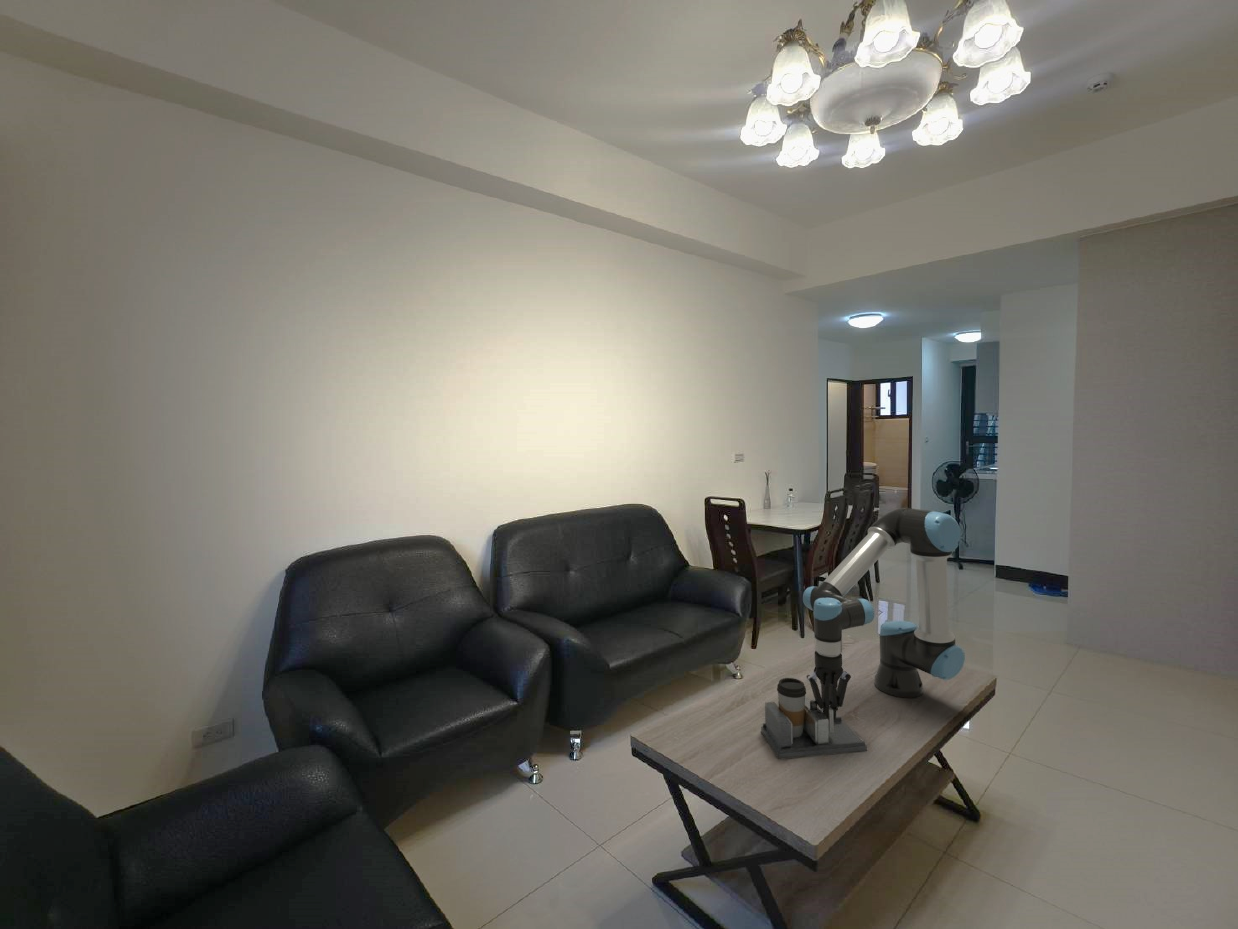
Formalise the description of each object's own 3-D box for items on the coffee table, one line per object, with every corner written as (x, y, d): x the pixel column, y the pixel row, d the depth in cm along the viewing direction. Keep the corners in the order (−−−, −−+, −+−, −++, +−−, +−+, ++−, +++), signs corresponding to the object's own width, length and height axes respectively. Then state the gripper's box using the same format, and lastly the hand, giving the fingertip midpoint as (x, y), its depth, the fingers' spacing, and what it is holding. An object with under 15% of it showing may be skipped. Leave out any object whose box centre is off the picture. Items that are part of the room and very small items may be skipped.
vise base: (841, 724, 167) (841, 694, 167) (866, 750, 153) (866, 718, 153) (761, 731, 165) (760, 701, 164) (779, 759, 151) (778, 726, 150)
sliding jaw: (809, 723, 165) (809, 691, 165) (828, 746, 153) (828, 712, 153) (798, 724, 165) (797, 692, 164) (816, 747, 153) (816, 713, 152)
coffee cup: (773, 725, 165) (772, 677, 164) (799, 723, 166) (799, 676, 165) (783, 740, 157) (782, 691, 156) (811, 739, 157) (810, 689, 156)
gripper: (842, 645, 162) (843, 720, 164) (801, 648, 161) (803, 724, 163) (855, 655, 155) (856, 734, 156) (813, 659, 153) (815, 738, 155)
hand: (829, 729), depth 159 cm, fingers closed
